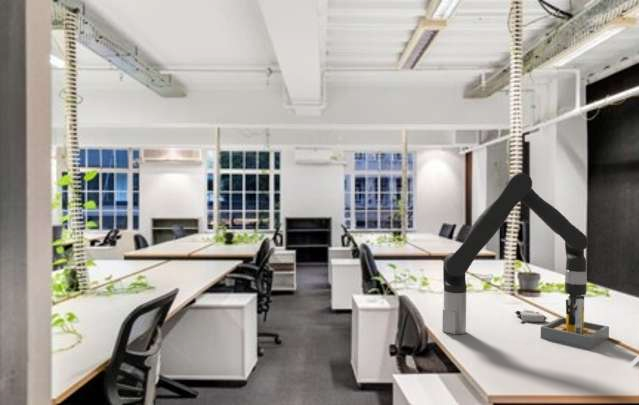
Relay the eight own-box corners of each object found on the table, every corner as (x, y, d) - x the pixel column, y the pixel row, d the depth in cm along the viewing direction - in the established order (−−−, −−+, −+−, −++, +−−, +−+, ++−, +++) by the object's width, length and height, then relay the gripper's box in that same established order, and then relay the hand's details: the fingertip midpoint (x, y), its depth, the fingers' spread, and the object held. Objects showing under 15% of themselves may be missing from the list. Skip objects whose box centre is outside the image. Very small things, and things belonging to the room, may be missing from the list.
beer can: (577, 332, 181) (578, 295, 181) (586, 336, 175) (587, 299, 175) (562, 332, 181) (563, 295, 181) (571, 336, 175) (572, 299, 175)
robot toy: (513, 317, 214) (519, 323, 200) (513, 308, 215) (519, 313, 200) (540, 319, 211) (548, 326, 197) (540, 310, 212) (548, 315, 197)
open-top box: (590, 352, 164) (591, 337, 164) (540, 340, 177) (540, 326, 177) (608, 340, 179) (609, 326, 179) (561, 329, 192) (561, 317, 192)
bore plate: (588, 346, 168) (588, 338, 168) (549, 337, 179) (549, 329, 179) (600, 338, 178) (600, 331, 178) (562, 330, 188) (562, 323, 188)
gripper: (571, 278, 185) (570, 318, 186) (558, 282, 176) (558, 324, 176) (592, 281, 180) (591, 322, 180) (579, 285, 170) (578, 328, 170)
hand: (574, 323), depth 178 cm, fingers closed on beer can, 6 cm apart
